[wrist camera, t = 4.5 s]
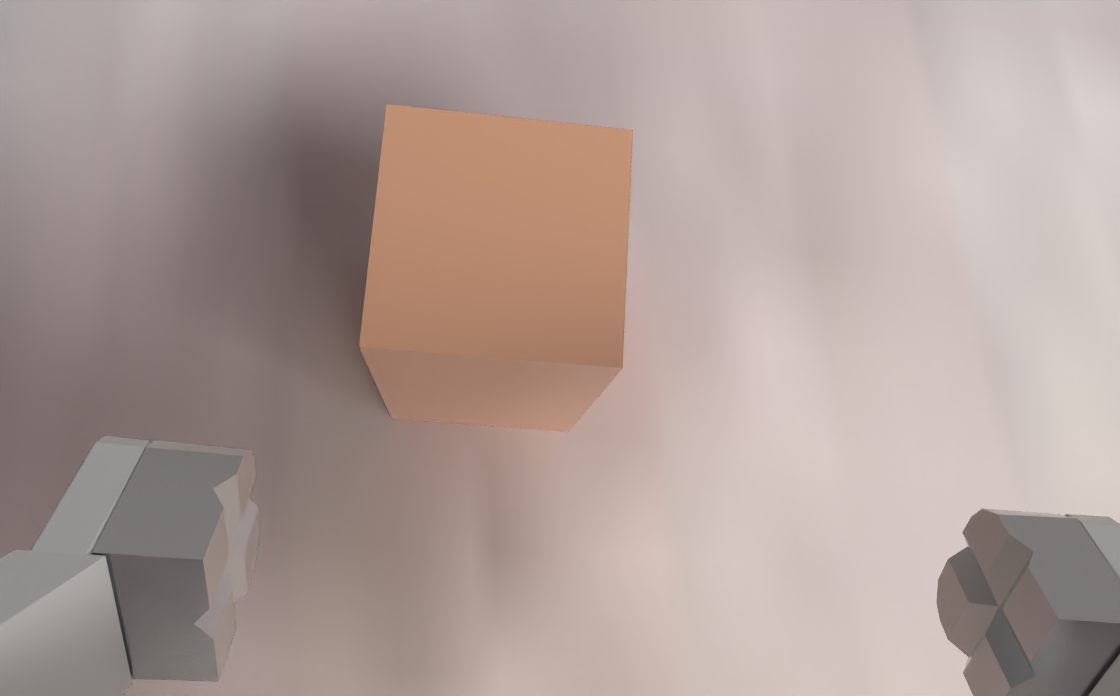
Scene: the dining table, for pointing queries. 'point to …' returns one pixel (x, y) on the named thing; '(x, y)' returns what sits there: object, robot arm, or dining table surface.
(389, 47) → the dining table surface
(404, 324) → the terracotta brick
